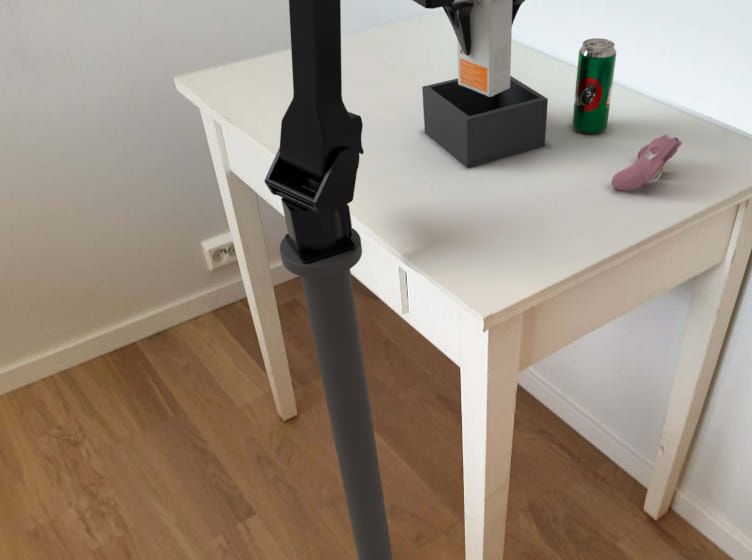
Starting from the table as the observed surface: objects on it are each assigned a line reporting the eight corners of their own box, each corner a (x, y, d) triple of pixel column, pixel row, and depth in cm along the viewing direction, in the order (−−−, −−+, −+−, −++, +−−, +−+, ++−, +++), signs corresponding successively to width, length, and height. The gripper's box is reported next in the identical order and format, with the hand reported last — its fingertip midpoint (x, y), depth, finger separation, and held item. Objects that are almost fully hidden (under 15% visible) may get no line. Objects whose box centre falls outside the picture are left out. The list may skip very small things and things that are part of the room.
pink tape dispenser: (633, 208, 93) (665, 169, 87) (605, 185, 93) (636, 145, 87) (662, 175, 99) (694, 137, 93) (636, 154, 99) (666, 115, 93)
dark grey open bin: (467, 168, 98) (466, 119, 93) (424, 132, 106) (422, 86, 101) (545, 145, 102) (548, 98, 98) (498, 113, 111) (498, 68, 106)
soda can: (611, 133, 105) (623, 48, 97) (578, 137, 104) (586, 51, 96) (600, 119, 108) (609, 35, 100) (567, 122, 108) (574, 38, 100)
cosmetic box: (457, 86, 98) (454, -10, 90) (478, 76, 100) (478, -18, 92) (489, 98, 95) (490, 0, 87) (511, 88, 97) (514, -8, 89)
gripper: (445, -63, 75) (450, 87, 86) (592, -86, 82) (579, 56, 92) (399, -83, 82) (408, 57, 93) (537, -103, 89) (531, 30, 100)
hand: (483, 50), depth 94 cm, fingers closed on cosmetic box, 5 cm apart
